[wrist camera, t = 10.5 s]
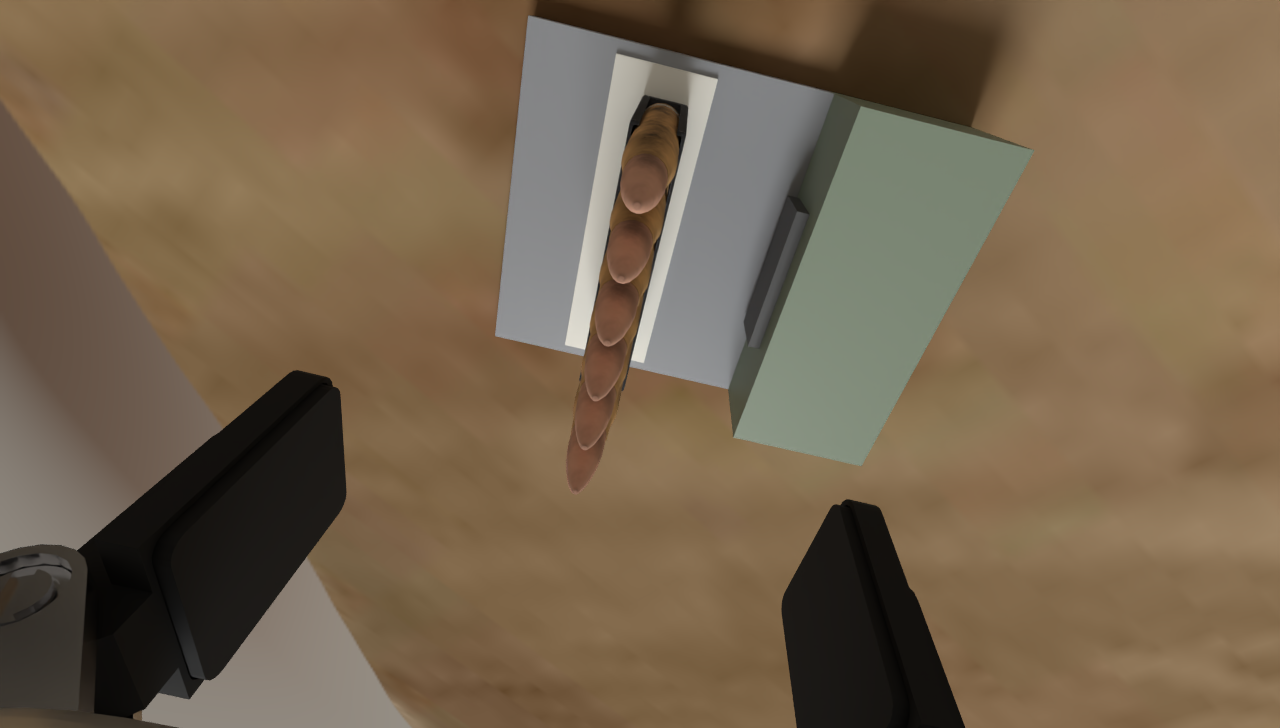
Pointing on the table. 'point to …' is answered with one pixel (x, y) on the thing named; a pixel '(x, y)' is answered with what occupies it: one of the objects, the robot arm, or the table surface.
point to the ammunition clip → (625, 276)
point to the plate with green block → (750, 232)
